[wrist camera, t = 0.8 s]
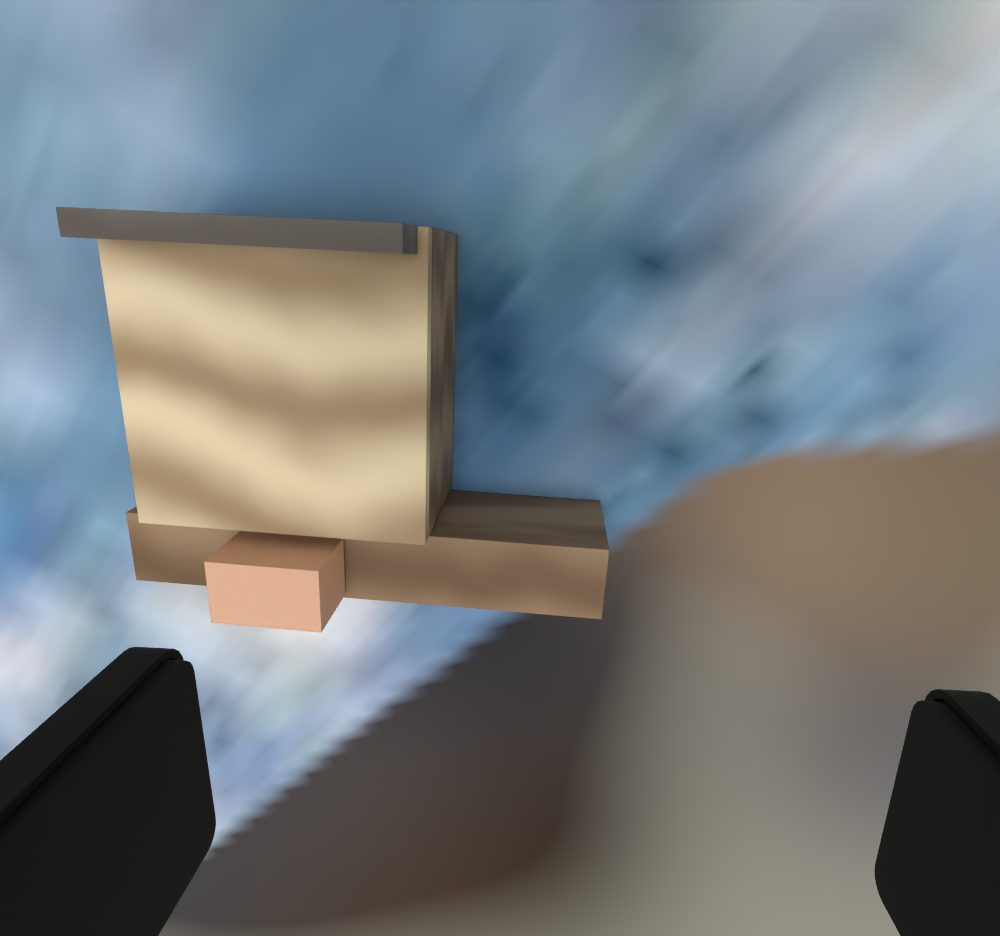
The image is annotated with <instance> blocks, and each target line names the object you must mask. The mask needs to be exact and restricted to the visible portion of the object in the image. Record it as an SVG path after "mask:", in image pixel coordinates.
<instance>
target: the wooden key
mask: <svg viewBox="0 0 1000 936" xmlns="http://www.w3.org/2000/svg"><path fill="white" fill-rule="evenodd" d="M204 565H205V573H206V582H207V591H208V600H209V608H210V617H211V623H220V624H231V625H243V626H254V627H265V628H277V629H288V630H299V631H311V632H322V631H323V629H324V627H325V626H326V624H327V623H328V621H329V619H330V618H331V616H332V615H333V613H334V611H335V610H336V608H337V607H338V605H339V603H340V602H341V600H342V598H343V597H344V595H345V575H344V547H343V539H339V538H327V537H314V536H301V535H289V534H276V533H263V532H250V531H239V532H238V533H237V534H236V535H235V536H233V537H232V538H231V539H230V540H229V541H228V542H227V543H225V544H224V545H223V546H222V547H221V548H220V549H218V550H217V551H216V552H215V553H214V554H213V555H212V556H210V557H209V558H208V559H207V560H206V561H205V562H204Z"/></svg>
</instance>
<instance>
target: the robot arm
mask: <svg viewBox="0 0 1000 936" xmlns="http://www.w3.org/2000/svg"><path fill="white" fill-rule="evenodd" d="M215 826H216V817H215V811H214V804H213V797H212V790H211V783H210V776H209V769H208V762H207V756H206V749H205V742H204V735H203V728H202V721H201V714H200V707H199V701H198V694H197V687H196V680H195V673H194V669H193V666H192V664H191V663H190V662H188V661H183V657H182V655H181V654H180V652H179V651H177V650H175V649H166V648H147V647H132V648H129V649H127V650H126V651H124V652H123V653H122V654H120V655H119V656H118V657H117V658H116V659H115V660H114V661H113V662H111V663H110V664H109V665H108V666H107V667H106V668H105V669H103V670H102V671H101V672H100V673H99V674H98V675H97V676H96V677H94V678H93V679H92V680H91V681H90V682H89V683H88V684H86V685H85V686H84V687H83V688H82V689H81V690H80V691H79V692H77V693H76V694H75V695H74V696H73V697H72V698H71V699H70V700H68V701H67V702H66V703H65V704H64V705H63V706H62V707H60V708H59V709H58V710H57V711H56V712H55V713H54V714H53V715H51V716H50V717H49V718H48V719H47V720H46V721H45V722H43V723H42V724H41V725H40V726H39V727H38V728H37V729H36V730H34V731H33V732H32V733H31V734H30V735H29V736H28V737H27V738H25V739H24V740H23V741H22V742H21V743H20V744H19V745H17V746H16V747H15V748H14V749H13V750H12V751H11V752H10V753H8V754H7V755H6V756H5V757H4V758H3V759H2V760H0V936H158V935H159V933H160V932H161V930H162V928H163V927H164V925H165V923H166V922H167V920H168V918H169V916H170V915H171V913H172V911H173V910H174V908H175V906H176V905H177V903H178V901H179V899H180V898H181V896H182V894H183V893H184V891H185V889H186V887H187V886H188V884H189V883H190V881H191V879H192V878H193V876H194V874H195V872H196V871H197V869H198V867H199V866H200V864H201V862H202V861H203V859H204V857H205V856H206V854H207V852H208V850H209V848H210V846H211V843H212V840H213V837H214V833H215ZM875 880H876V885H877V889H878V892H879V895H880V898H881V900H882V902H883V904H884V906H885V908H886V909H887V911H888V913H889V915H890V917H891V919H892V921H893V922H894V924H895V926H896V928H897V930H898V932H899V934H900V935H901V936H1000V701H999V700H998V699H996V698H995V697H994V696H992V695H991V694H989V693H985V692H979V691H960V690H940V689H937V690H933V691H931V692H930V693H929V694H928V695H927V696H926V699H925V701H918V702H917V703H916V704H915V705H914V707H913V709H912V712H911V716H910V720H909V725H908V729H907V733H906V737H905V741H904V746H903V750H902V754H901V759H900V762H899V767H898V771H897V775H896V779H895V783H894V788H893V792H892V796H891V800H890V804H889V809H888V813H887V817H886V821H885V825H884V830H883V834H882V838H881V842H880V846H879V850H878V855H877V859H876V863H875Z"/></svg>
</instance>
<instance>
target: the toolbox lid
mask: <svg viewBox="0 0 1000 936" xmlns="http://www.w3.org/2000/svg"><path fill="white" fill-rule="evenodd" d="M56 211H57V217H58V223H59V229H60V235H61V237H76V238H96V239H97V240H98V247H99V254H100V261H101V268H102V274H103V281H104V288H105V295H106V301H107V308H108V315H109V322H110V329H111V335H112V342H113V349H114V356H115V362H116V369H117V376H118V383H119V389H120V396H121V403H122V410H123V417H124V423H125V430H126V437H127V444H128V450H129V457H130V464H131V471H132V478H133V484H134V491H135V498H136V505H137V511H138V518H139V523H149V524H161V525H174V526H187V527H200V528H212V529H225V530H238V531H250V532H263V533H276V534H289V535H301V536H314V537H327V538H339V539H352V540H365V541H378V542H390V543H403V544H416V545H426V542H427V540H428V538H429V469H430V384H431V299H432V228H431V227H419V226H413V225H409V224H405V223H391V222H370V221H349V220H327V219H306V218H284V217H263V216H241V215H220V214H199V213H177V212H156V211H134V210H113V209H92V208H70V207H56Z"/></svg>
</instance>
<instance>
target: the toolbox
mask: <svg viewBox="0 0 1000 936" xmlns="http://www.w3.org/2000/svg"><path fill="white" fill-rule="evenodd" d="M457 246H458V234H455V233H451V232H447V231H443V230H439V229H435V228H432V299H431V384H430V469H429V538H428V540H427V542H426V545H416V544H403V543H390V542H378V541H365V540H352V539H343V547H344V575H345V595H344V597H346V598H358V599H370V600H382V601H393V602H405V603H417V604H429V605H441V606H453V607H464V608H476V609H488V610H500V611H512V612H524V613H535V614H548V615H559V616H571V617H583V618H595V619H601V618H602V610H603V601H604V592H605V583H606V574H607V566H608V557H609V546H608V541H607V536H606V530H605V525H604V520H603V514H602V509H601V504H600V501H593V500H579V499H565V498H552V497H538V496H524V495H511V494H497V493H483V492H469V491H456V490H450V489H451V487H452V455H453V413H454V371H455V329H456V288H457ZM126 515H127V522H128V528H129V535H130V541H131V548H132V554H133V561H134V567H135V574H136V580H145V581H157V582H169V583H180V584H192V585H204V586H207V582H206V573H205V565H204V562H205V561H206V560H207V559H208V558H209V557H210V556H212V555H213V554H214V553H215V552H216V551H217V550H218V549H220V548H221V547H222V546H223V545H224V544H225V543H227V542H228V541H229V540H230V539H231V538H232V537H233V536H235V535H236V534H237V533H238V532H239V531H238V530H225V529H212V528H200V527H187V526H174V525H161V524H149V523H139V518H138V511H137V506H136V507H135V508H133V509H131V510H130V511H128V512H126Z"/></svg>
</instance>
